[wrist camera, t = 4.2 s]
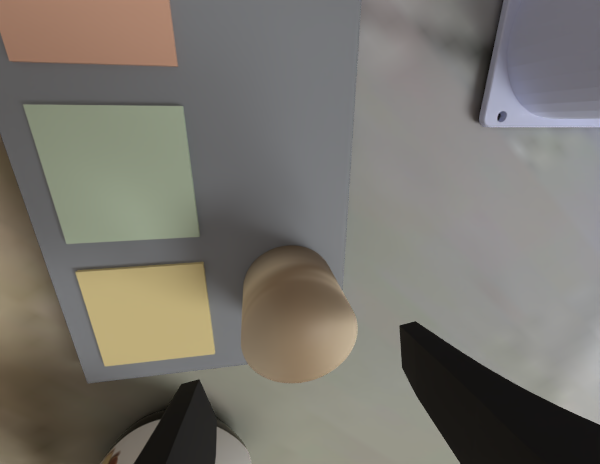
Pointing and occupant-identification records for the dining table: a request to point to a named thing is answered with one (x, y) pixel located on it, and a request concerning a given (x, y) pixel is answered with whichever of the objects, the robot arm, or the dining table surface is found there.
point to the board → (175, 161)
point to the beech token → (294, 316)
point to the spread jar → (123, 454)
